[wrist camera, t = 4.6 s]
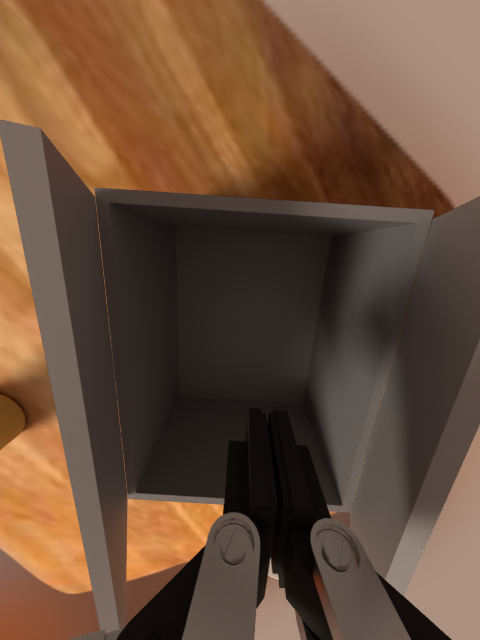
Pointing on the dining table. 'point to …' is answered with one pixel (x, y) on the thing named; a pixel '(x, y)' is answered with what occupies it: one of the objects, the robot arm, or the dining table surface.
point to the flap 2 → (425, 403)
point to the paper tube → (10, 420)
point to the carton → (250, 329)
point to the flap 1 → (75, 349)
